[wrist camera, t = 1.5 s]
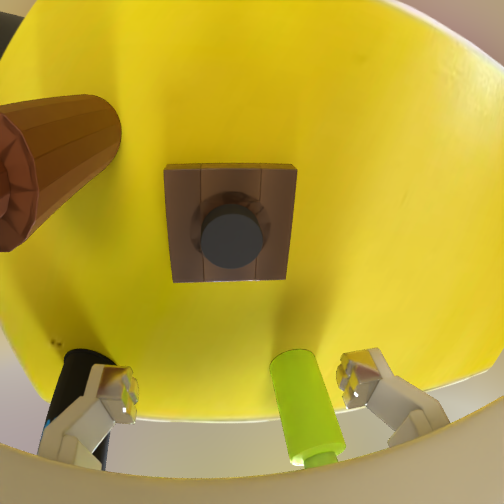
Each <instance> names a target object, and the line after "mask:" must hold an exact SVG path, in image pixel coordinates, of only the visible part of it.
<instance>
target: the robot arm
mask: <svg viewBox="0 0 504 504" xmlns="http://www.w3.org/2000/svg"><path fill="white" fill-rule="evenodd" d="M340 360H341V364H340V365H339V366H338V368H337V371H336V380H337V384H338V387H339V388H340V389H341V390H343V391H344V393H343V396H342V397H343V400H344V403H345V405H346V408H347V409H351V408H356V407H361V406H366V407H367V408H368V409H369V410H371V412H373V413H374V414H375V415H376V416H377V417H379V418H380V419H381V420H382V421H383V422H384V423H386V424H387V425H388V426H389V427H390V428H392V429H393V430H394V431H395V432H394V434H393V435H392V436H391V437H390V438H389V440H388V442H387V443H388V445H389V448H387V449H383V450H380V451H377V452H374V453H370V454H367V455H364V456H360V457H356V458H352V459H349V460H345V461H341V462H336V463H332V464H327V465H323V466H318V467H313V468H307V469H302V470H296V471H289V472H283V473H275V474H267V475H258V476H246V477H232V478H165V477H164V478H163V477H148V476H139V475H130V474H121V473H115V472H108V471H102V470H101V468H102V464H101V463H100V461H99V460H98V459H97V458H96V457H95V456H94V455H93V454H92V453H93V452H94V450H95V449H96V448H97V447H98V445H99V444H100V443H101V442H102V440H103V439H104V438H105V437H106V435H107V434H108V433H109V432H110V430H111V429H112V428H113V427H114V425H115V423H122V424H135V420H136V413H137V410H136V408H135V406H134V405H135V404H136V403H137V402H138V399H139V387H138V382H137V380H136V379H135V378H134V377H133V370H132V368H131V367H129V366H116V365H103V364H94V365H93V366H92V368H91V372H90V375H89V378H88V382H87V385H86V388H85V392H84V396H80V397H79V398H78V399H76V400H75V401H74V402H73V403H72V404H71V405H70V406H69V407H68V408H67V409H65V410H64V411H63V412H62V413H61V414H60V415H59V416H58V417H57V418H56V419H54V420H53V421H52V422H51V423H50V424H49V425H48V426H47V427H46V428H45V429H44V431H43V435H42V438H41V442H40V446H39V450H38V454H37V455H34V454H31V453H27V452H25V451H21V450H18V449H16V448H13V447H10V446H7V445H4V444H2V443H0V504H504V396H502V397H500V398H498V399H497V400H495V401H493V402H491V403H489V404H487V405H486V406H484V407H482V408H480V409H478V410H477V411H475V412H473V413H471V414H469V415H467V416H465V417H463V418H461V419H459V420H457V421H455V422H452V423H450V421H449V419H448V418H447V416H446V414H445V412H444V410H443V408H442V406H441V405H440V403H439V401H438V400H436V399H434V398H433V397H431V396H430V395H428V394H426V393H425V392H423V391H421V390H420V389H418V388H417V387H415V386H413V385H412V384H410V383H409V382H407V381H405V380H404V379H402V378H400V377H399V376H394V375H393V373H392V371H391V369H390V367H389V366H388V364H387V362H386V360H385V358H384V356H383V355H382V353H381V351H380V349H379V348H371V349H366V350H365V349H364V350H359V351H353V352H348V353H343V354H342V356H341V359H340Z"/></svg>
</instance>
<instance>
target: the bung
mask: <svg viewBox="0 0 504 504" xmlns="http://www.w3.org/2000/svg"><path fill="white" fill-rule="evenodd" d="M200 244H201V249H202V252H203V254H204V255H205V257H206V258H207V259H208V260H209V261H210V262H211V263H212V264H214V265H216V266H218V267H221V268H225V269H236V268H241V267H244V266H246V265H248V264H249V263H251V262H252V261H253V260H254V259H255V258H256V257H257V256H258V255H259V253H260V251H261V249H262V245H263V234H262V231H261V228H260V225H259V223H258V220H257V218H256V216H255V215H254V214H253V213H252V212H251V211H250V210H249V209H247V208H246V207H244V206H241V205H237V204H225V205H221V206H218V207H216V208H215V209H213V210H212V211H210V212H209V213H208V214H207V216H206V217H205V219H204V221H203V223H202V227H201V241H200Z"/></svg>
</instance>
